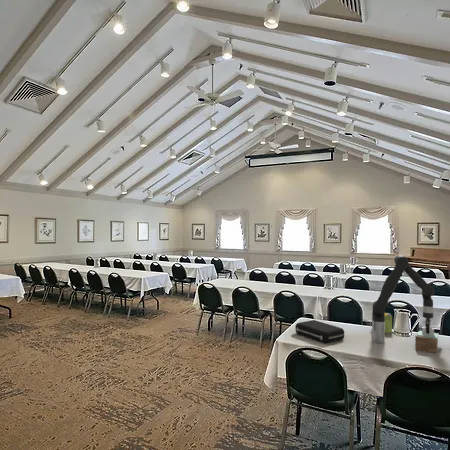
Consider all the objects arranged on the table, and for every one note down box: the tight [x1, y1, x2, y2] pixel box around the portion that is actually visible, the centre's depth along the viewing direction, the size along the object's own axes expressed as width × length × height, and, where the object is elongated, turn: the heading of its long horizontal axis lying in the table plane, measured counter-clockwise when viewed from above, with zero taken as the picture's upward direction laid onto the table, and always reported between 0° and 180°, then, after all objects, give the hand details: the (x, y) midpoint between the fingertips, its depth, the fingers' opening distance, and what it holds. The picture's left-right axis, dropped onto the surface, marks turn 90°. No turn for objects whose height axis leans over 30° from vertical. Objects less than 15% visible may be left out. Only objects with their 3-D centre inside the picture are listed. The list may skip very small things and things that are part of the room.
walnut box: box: [414, 335, 439, 354], centre depth 276 cm, size 16×14×10 cm
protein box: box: [371, 312, 393, 334], centre depth 324 cm, size 10×15×16 cm
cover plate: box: [416, 326, 439, 339], centre depth 284 cm, size 14×14×6 cm
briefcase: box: [294, 319, 345, 345], centre depth 306 cm, size 36×32×10 cm
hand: (427, 332), depth 284 cm, fingers closed on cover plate, 4 cm apart
